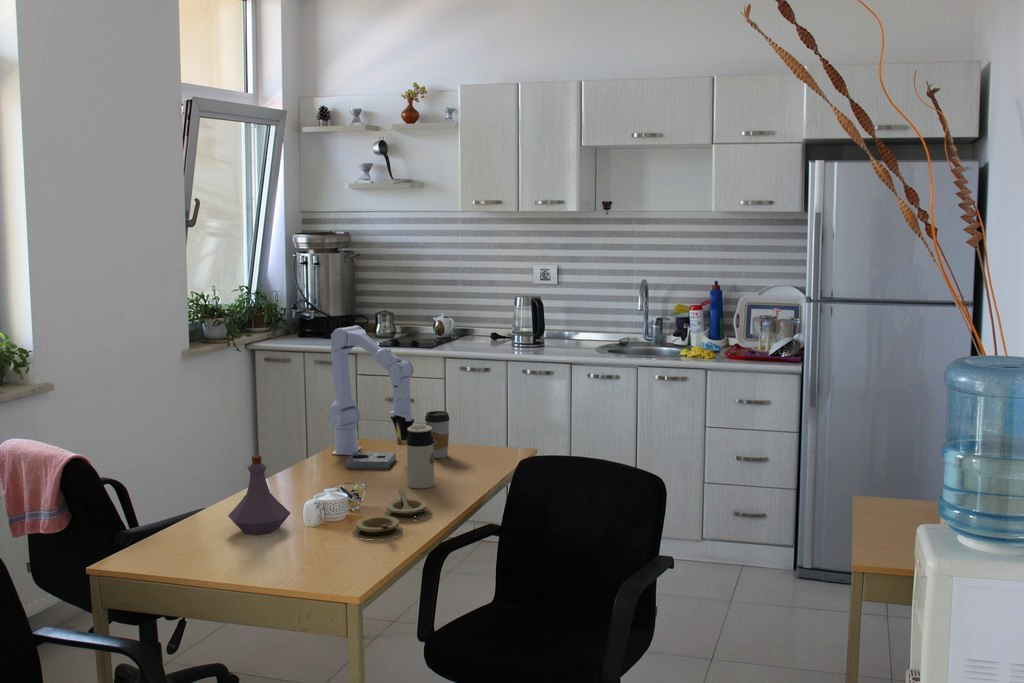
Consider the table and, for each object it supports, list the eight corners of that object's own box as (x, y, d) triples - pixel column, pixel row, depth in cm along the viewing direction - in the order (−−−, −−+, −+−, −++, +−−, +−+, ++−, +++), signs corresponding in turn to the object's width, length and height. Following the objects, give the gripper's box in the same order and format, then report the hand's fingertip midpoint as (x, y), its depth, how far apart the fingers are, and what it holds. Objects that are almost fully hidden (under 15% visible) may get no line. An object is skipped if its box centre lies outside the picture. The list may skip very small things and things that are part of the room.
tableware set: (388, 506, 296) (387, 486, 295) (450, 513, 288) (449, 493, 288) (333, 538, 269) (332, 516, 268) (399, 547, 261) (398, 524, 260)
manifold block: (354, 459, 346) (354, 452, 346) (395, 459, 345) (395, 452, 344) (345, 468, 334) (345, 461, 334) (387, 469, 333) (387, 461, 333)
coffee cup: (422, 458, 345) (420, 415, 343) (431, 452, 353) (430, 410, 351) (445, 460, 343) (444, 416, 341) (454, 454, 351) (453, 411, 349)
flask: (266, 516, 285) (262, 446, 283) (304, 527, 275) (301, 455, 272) (215, 531, 273) (211, 458, 270) (253, 544, 263) (249, 468, 260)
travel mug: (403, 487, 312) (401, 429, 309) (417, 480, 319) (415, 424, 316) (425, 490, 308) (423, 431, 306) (439, 483, 315) (437, 426, 313)
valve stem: (398, 442, 342) (397, 421, 341) (410, 442, 341) (409, 421, 340) (395, 445, 338) (395, 424, 337) (407, 445, 337) (407, 424, 336)
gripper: (383, 395, 342) (384, 435, 344) (396, 403, 329) (398, 444, 331) (403, 393, 345) (404, 432, 347) (417, 400, 332) (418, 442, 334)
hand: (402, 438), depth 339 cm, fingers closed on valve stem, 4 cm apart
